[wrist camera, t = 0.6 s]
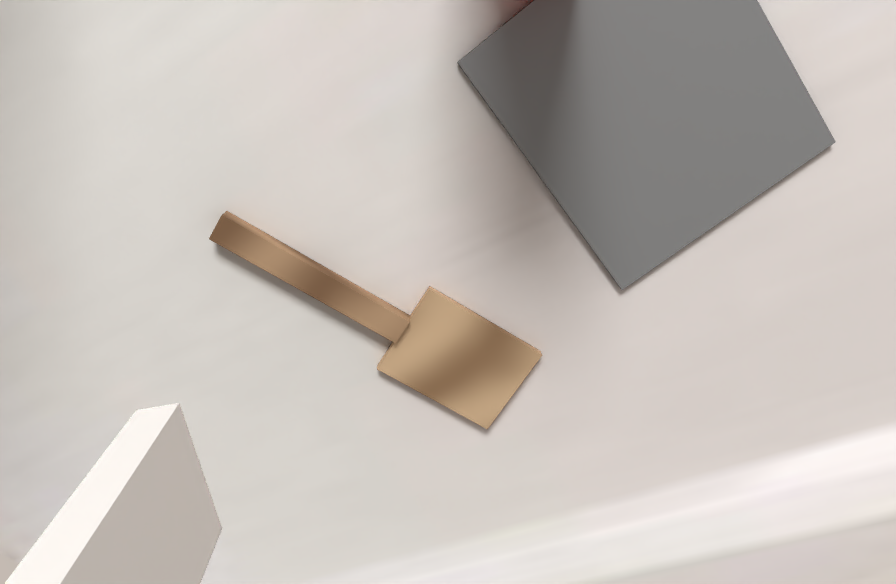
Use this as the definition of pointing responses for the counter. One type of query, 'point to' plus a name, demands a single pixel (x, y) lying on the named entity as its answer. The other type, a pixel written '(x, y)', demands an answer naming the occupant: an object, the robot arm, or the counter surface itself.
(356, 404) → the counter surface
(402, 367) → the turner
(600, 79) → the mat
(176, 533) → the robot arm
